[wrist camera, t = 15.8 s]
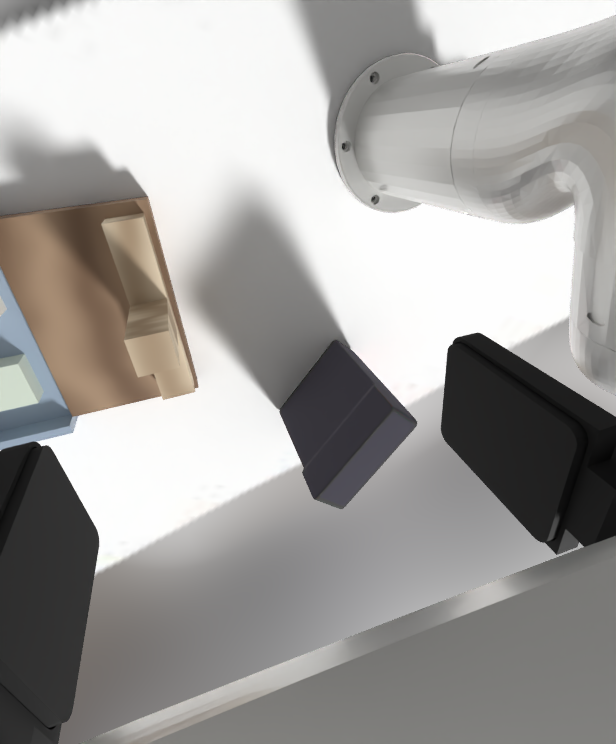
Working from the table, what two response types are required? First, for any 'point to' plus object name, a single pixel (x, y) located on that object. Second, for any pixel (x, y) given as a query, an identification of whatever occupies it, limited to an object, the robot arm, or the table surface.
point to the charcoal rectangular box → (343, 425)
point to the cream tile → (2, 306)
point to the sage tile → (18, 383)
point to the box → (52, 411)
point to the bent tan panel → (148, 307)
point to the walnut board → (80, 300)
